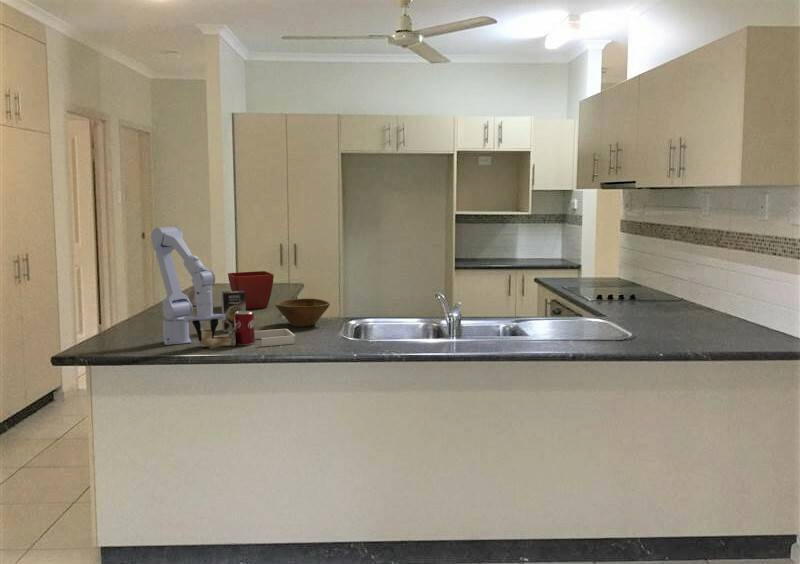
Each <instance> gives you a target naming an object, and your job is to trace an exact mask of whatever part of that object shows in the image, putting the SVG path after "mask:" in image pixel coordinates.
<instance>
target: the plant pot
mask: <svg viewBox="0 0 800 564" xmlns="http://www.w3.org/2000/svg"><path fill="white" fill-rule="evenodd" d="M274 276H275V274H274V273H271V272H268V271H266V270H262V271H261V270H258V271H257V270H255V271H243V272H228V273H227V277H228V282H229V287H230V289H231V290H230V291H244V292H245V301H246V310H255V309H266V308H268V306H269V303H270V299H271V295H272V291H273V285H274V278H275V277H274Z"/></svg>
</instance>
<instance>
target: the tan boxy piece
mask: <svg viewBox="0 0 800 564" xmlns="http://www.w3.org/2000/svg"><path fill="white" fill-rule="evenodd" d="M199 344H200V346H201V347H202V348H203V347H221V346H223V347H224V346H232V347H235V346H237V345H236V336H235V332H234V331H229V332H228V335H220V336H219V335H218V336H217V335H216V336H215V335H214V338H213V339H212V331H211V327H210V328H201V341H199Z"/></svg>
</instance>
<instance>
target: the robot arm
mask: <svg viewBox="0 0 800 564" xmlns="http://www.w3.org/2000/svg"><path fill="white" fill-rule="evenodd" d="M150 239H151V243H152V246H153V251H154V252H155V255H156V259H157V263H158V267H159V271H160V274H161V278H162V281H163V286H164V290H165V293H166V296H165V298H164V299H163V300H162V301H161V303H162V313H163V316H164V317H165V319H166V320H165V319H163V320H162V328H163V329H162V330H163V331H162V333H163V335H162V340H163V344H164V345H167V346H169V345H181V344H191V343H192V340H191V338H190V329H189V328H190V327H189V325H190V323H192V324H193V326H194V328H195V331H196V333H197V337H198V341H199V342H200V341H201V329H202V327H201V322H207V321H209V324H210V325H209V326H210V329H211V331H212V339H213V338H214V336H215V332H216V329H217V327H218V325H219V321H220V320H221V321H222V320H226V315H225V314H222V313H214V307H213V305H214V304H213V286H214V284H215V282H216V277H215V276H216V275H215V273H214V272H213V270H211V269H208V268H206V267H205V265H204V264H203V262H202V261H201V259H200V257H198V256H197V255H193V254H192V252H191V251H190V249H189V247H188V245H187V244H186V242H185V240H184V233H183V231H182V230H181V228H180V227H179V226H176V225H175V226H165V227H164V226H163V227H162V226H160V227H158V226H156V227H154V228H153V229H152V232H151V234H150ZM173 250H175V251H176V252H177V253H178V255H179V256H180V257H181V258H182V260H183V266H184V267H185V269H186V270H187V272H188V273H189V275H190V276H191V283H192V285H193V288H194V290H195V292H196V314H195V315H194V314H193V311H194V308H193V306H192V304H191V302H190V301H189V298H188V296H189V295H186V293H183V292H182V289H181V285H180V282H179V278H178V275H177V271H176V267H175V264H174V260H173V257H172V256H173V255H172V251H173Z"/></svg>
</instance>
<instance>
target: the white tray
mask: <svg viewBox="0 0 800 564" xmlns="http://www.w3.org/2000/svg"><path fill="white" fill-rule="evenodd" d="M254 334H255V340H259V339H260V340H261V342H260V343H261V347H271V346H286V345H294V344H295V345H296V344H297V336H296V335H295V334H294V333H293V332H292V331H290V330H289V329H288V328H279V329H265V330H254Z"/></svg>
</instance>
